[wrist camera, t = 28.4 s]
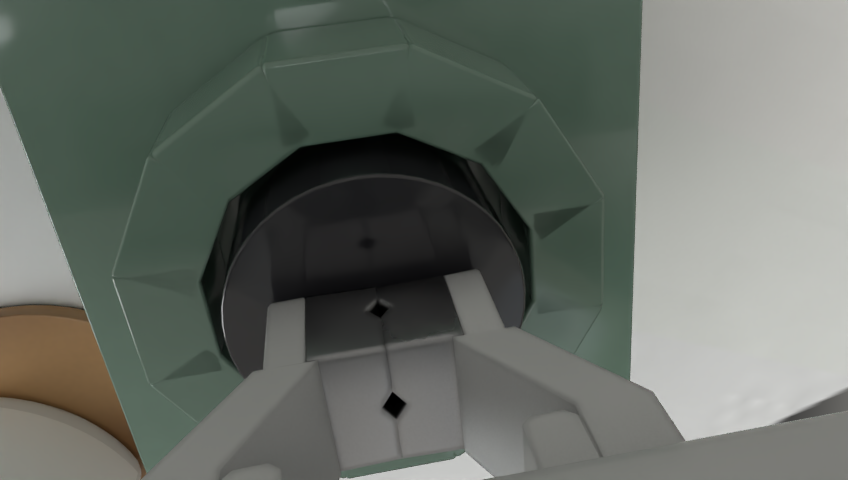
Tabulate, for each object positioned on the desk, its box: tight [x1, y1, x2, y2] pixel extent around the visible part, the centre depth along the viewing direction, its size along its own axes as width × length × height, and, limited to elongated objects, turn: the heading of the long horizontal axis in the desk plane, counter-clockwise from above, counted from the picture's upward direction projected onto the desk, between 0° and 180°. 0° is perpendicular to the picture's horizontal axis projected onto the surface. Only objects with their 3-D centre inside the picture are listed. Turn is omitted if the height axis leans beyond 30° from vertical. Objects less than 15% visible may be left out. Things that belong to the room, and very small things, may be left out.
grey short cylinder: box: [221, 133, 526, 380], centre depth 12 cm, size 4×4×2 cm
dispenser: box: [0, 0, 642, 478], centre depth 16 cm, size 10×10×11 cm
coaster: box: [0, 305, 147, 480], centre depth 24 cm, size 10×10×1 cm
